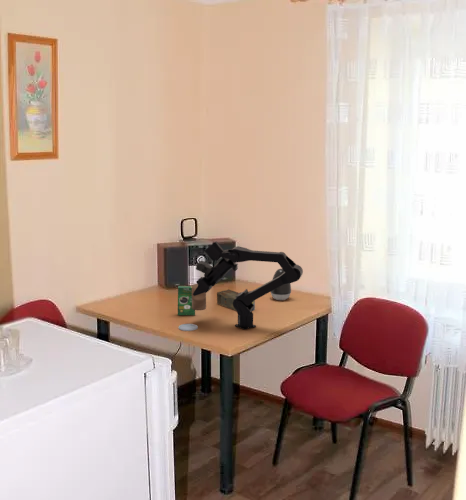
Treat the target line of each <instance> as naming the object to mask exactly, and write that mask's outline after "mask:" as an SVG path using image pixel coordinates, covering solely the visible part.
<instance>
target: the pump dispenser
mask: <svg viewBox="0 0 466 500" xmlns="http://www.w3.org/2000/svg"><path fill="white" fill-rule="evenodd" d="M283 273H284V271H283V269H282V268H278V269H277V270H276V271H275V272H274V274H273V277H272V278H271V280H273V279H275V278H277V277H279V276H280V275H281V274H283ZM291 285H292V283H290V284H285V285H282V286H280V287H278V288H276V289H275V290H273V291H271V292H270V295H271V298H273V299H274V300H276V301H285V300H287V299H289V298H290V296H291V293H292V286H291Z"/></svg>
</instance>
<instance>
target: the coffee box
mask: <svg viewBox="0 0 466 500" xmlns="http://www.w3.org/2000/svg"><path fill="white" fill-rule="evenodd" d="M177 316H196V310H193V309H192V285H178V287H177Z"/></svg>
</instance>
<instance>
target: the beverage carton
mask: <svg viewBox="0 0 466 500" xmlns="http://www.w3.org/2000/svg"><path fill="white" fill-rule="evenodd" d="M239 293H240V292H237V291H234V290H232V289H226V290H221V291H217V292H216V304H217V305H219V306H221V307H224V308H228V309H230V310H232V311H233V310H234V311H235V312H237V310H236V309H235V308H234V306H233V301H234V299H235V298H236V296H237V295H238V294H239ZM252 304H253V305H254V309H253V310H252V311H255V310H256V300H255V301H253V302H252Z"/></svg>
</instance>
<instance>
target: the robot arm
mask: <svg viewBox="0 0 466 500" xmlns="http://www.w3.org/2000/svg"><path fill="white" fill-rule="evenodd" d="M203 253H204V254H205V255H206V256H207V257H208V258H209V259H210V260H211V261H212V262H217V263H216V264H214V265H213V266H212V265H210V264H209V263H208V262H206V261H203V260H199V261H198V263H197V265H196V267H195V270H196V271H199V272H201V273H203V276H201V277H200V278H198V279H197V280H196V281H195V282H196V283H195V284H198V287H197V288H196V290H195V291H194V293H193V295H194V296H196V295H199V294H202V293H205V292H206V294H207V293H208V292H209V291H210V290H211V289H212V287H214V286H215V285H216V284H218V283H219V282H221V280H222V278H223V277H225V276H226V274H228V272H230V271H231V270H233V271H234V272H236V271H237V270H238V267H239V266H238V265H239V264H238V263H243V262H249V261H252V262H268V263H277V264H278V265H279V266H280V269H283V271H284V273H283V274H281V275H280V276H279V277H277V278H275V279H273V278H272V279H273V280H272V279H271V280H270V281H268V282H266V283H264V284H262V285H261V286H259V287H256V288H254V289H253V290H250V291H248V288H245V290H243V291H241V292H238V293H239V294H238V295H237V296H236V298H235V299H234V301H233V306H234V308H235V309H236V310H237V311H236V313H237V324H235V325H234V326H235V327H236V328H239V329H242V330H248V329H253V328H257V325H256V324H254V312H252V310H253V309H254V305H253V304H252V302H253V301H255V302H256V300H258V299H260V298H262V297H264V296H265V295H267V294H270V293H271V291H273V290H275V289H276V288H278V287H280V286H282V285H285V284H293V283H295V282H298V281H299V280H300V279H301V278H302V276H303V272H304V271H303V267H302V266H301V265H299V264H296V262H295V261H293V259H291V257H288V255H287V254H286V253H285V252H283V251H265V250H252V249H250V248H247V247H242V246H239V245H238V246H235V247H233V248H230V249H224V248H222V246H221V245H220V244H219V242H218V241H214V242H213V243H212V244H211V245H209V246H208V247H207V248H206V249H205V250H204V251H203ZM253 311H254V310H253Z"/></svg>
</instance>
